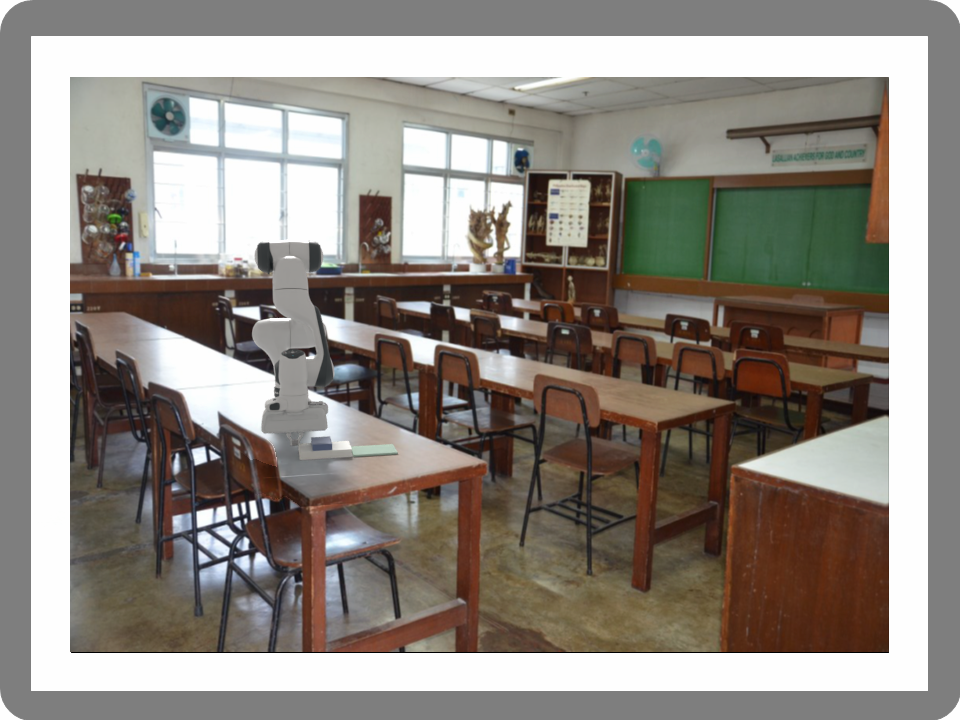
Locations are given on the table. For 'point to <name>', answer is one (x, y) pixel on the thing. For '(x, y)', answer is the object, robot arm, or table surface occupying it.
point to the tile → (321, 443)
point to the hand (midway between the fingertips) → (295, 445)
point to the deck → (325, 451)
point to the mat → (373, 450)
